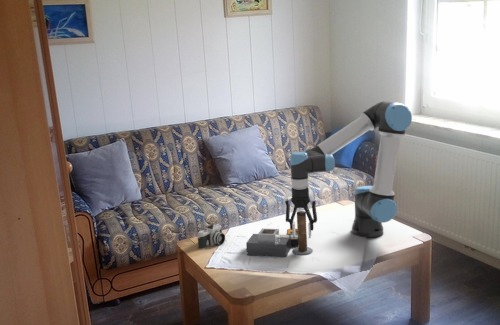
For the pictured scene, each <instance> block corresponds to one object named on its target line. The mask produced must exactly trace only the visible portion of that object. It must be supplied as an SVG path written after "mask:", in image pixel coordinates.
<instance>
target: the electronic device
mask: <svg viewBox="0 0 500 325" xmlns="http://www.w3.org/2000/svg"><path fill="white" fill-rule="evenodd" d="M286 230H287V231H286V235H291V247H292V246H294V247H295V246H296V247H298V230H297V228H295V234H296V235H295V237H293V231H292V230H291V229H290V228H288V229H286Z"/></svg>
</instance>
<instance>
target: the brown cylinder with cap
mask: <svg viewBox="0 0 500 325" xmlns="http://www.w3.org/2000/svg"><path fill="white" fill-rule="evenodd" d="M296 226H297V227H296V229H297V230H298V246H297V247H298V251H299V252H306V251H307V247H308V238H307V237H308V236H307V233H308V232H307V214H306V212H305V210H298V211H296Z"/></svg>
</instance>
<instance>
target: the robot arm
mask: <svg viewBox="0 0 500 325" xmlns="http://www.w3.org/2000/svg"><path fill="white" fill-rule="evenodd" d="M412 120H413V116H412V111H411V110H410V108H408V106H406V104H403V103H400V102H394V101H393V102H392V101H389V100H388V101H387V100H385V101H384V100H382V101H379V102H378V103H376V104H373V106H370V107H369V108H367V109H365V110H364V111H363V112H362V113H360V116H359V117H358V118H356V119H355V120H353V121H352V122H350V123H349V124H347V125H345V126H344V127H342V128H341V129H339V130H338V131H337V132H335V133H334V134H331V136H329V137H327V138H326V139H325V140H323V141H321V142H320V143H318V144H316V145H315V146H313V147H311V148H307V149H304V150H303V151H294V152H292V153H291V154H290V158H289V159H290V160H289V165H290V175H291V177H290V179H291V180H290V183H291V198H289V199H288V198H287V199H286V200H285V201H284V203H285V206H286V207H285V208H286V210H285V222H287V223H289V229H291V230H292V231H293V237H295V235H296V234H295V229H296V222H295V221H294V220H295V217H296V215H297V212H298V211H297V210H298V209H304V210H303V211H305V212H306V218H308V225H307V227H308V228H307V229H308V239H311V238H312V231H313V230H314V224H316V223H317V221H318V215H317V208H316V204H317V200H316V199H311V198H310V189H309V174H315V173H326V172H330V171H331V172H332V171H334V169H335V166H336V161H335V157H334V156H333V155H334V154H335V153H337V152H338V151H339V150H341V149H343V148H344V147H346V146H347V145H350V144H351V143H352V142H353V141H355V140H356V139H358V138H360V137H361V136H363V135H364V134H365V133H367V132H369V131H374V130H376V129H377V128H378V130H377V131H378V133H379V134H380V139H379V146H378V152H377V158H376V159H377V160H376V167H375V173H374V177H373V178H374V179H373V185H363V186H358V187H355V188H354V219H353V223H352V224H351V225H352V226H351V233H352V234H353V235H354V236H358V237H361V238H376V237H380V236H382V235H383V234H384V226H383V223H388V222H389V221H390V222H391V221H392V219H393V218H395V217H396V214H397V212H398V207H397V204H396V202H395V196H396V193H395V192H394V190H393V188H394V180H395V175H396V169H397V164H398V163H397V161H398V155H399V149H400V143H401V138H402V137H403V136H405V133H406V130H407V129H408V127H410V125H411V124H412ZM309 203H310V205H311V211H312V213H311V211H310V208H309V206H308V205H309ZM291 204H293V205H294V207H293V211H292V213H291V212H290V211H291ZM290 213H291V215H290Z"/></svg>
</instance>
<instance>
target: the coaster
mask: <svg viewBox="0 0 500 325" xmlns="http://www.w3.org/2000/svg"><path fill="white" fill-rule="evenodd" d="M313 252H314V250H313V248H311V247H308V246H307V251H306V252H299V251H298V246H296V247H295V248H294V249H292V253H293V254H295V255H296V256H297V255H299V256H306V255H311V254H312V253H313Z"/></svg>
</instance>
